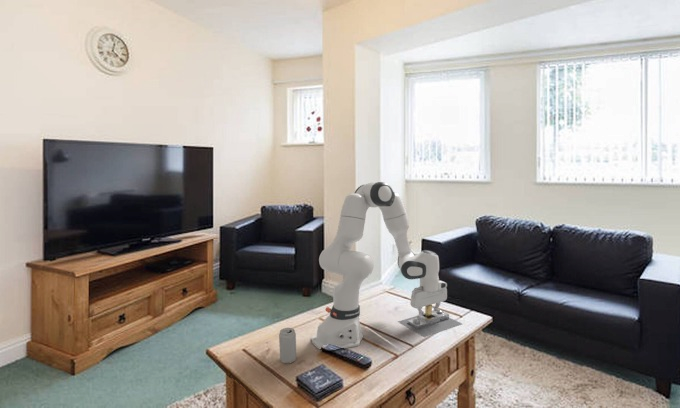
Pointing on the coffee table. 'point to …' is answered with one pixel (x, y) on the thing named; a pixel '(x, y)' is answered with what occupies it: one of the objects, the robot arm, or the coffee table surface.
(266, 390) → the coffee table surface
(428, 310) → the brass pin
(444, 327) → the gray base plate
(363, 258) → the robot arm
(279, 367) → the coffee table surface
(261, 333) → the coffee table surface
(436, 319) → the slotted latch plate
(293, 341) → the beverage can
